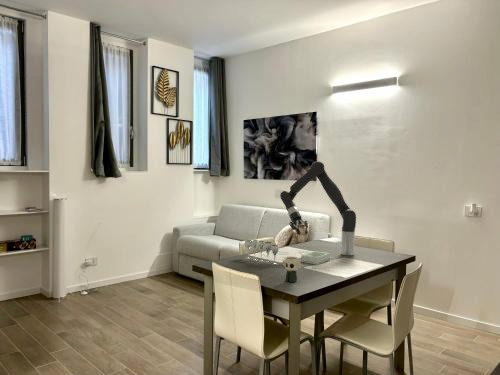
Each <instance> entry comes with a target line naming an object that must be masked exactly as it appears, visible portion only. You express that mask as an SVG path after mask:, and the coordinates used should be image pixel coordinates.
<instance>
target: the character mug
mask: <svg viewBox="0 0 500 375" xmlns="http://www.w3.org/2000/svg"><path fill="white" fill-rule="evenodd" d="M282 266H284V268H285V270H286V272H285V281H286V282H291V283H294V282H297V280H298V276H297V275H298V274H297V270H299V269H301V267H302V264H301V261H299V257H297V256H286V257H285V259H283V260H282Z"/></svg>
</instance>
